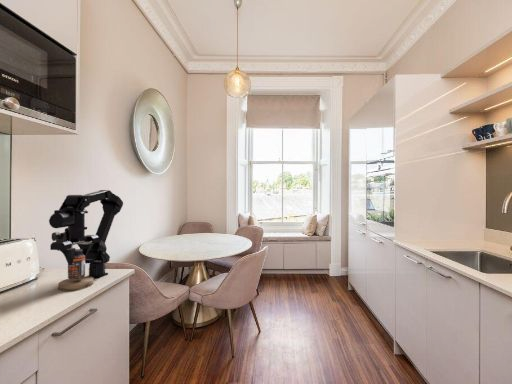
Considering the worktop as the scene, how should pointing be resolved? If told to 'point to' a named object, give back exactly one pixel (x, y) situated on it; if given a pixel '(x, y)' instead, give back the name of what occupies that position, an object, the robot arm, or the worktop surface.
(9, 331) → the worktop surface
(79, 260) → the supplement bottle
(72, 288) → the walnut plinth
